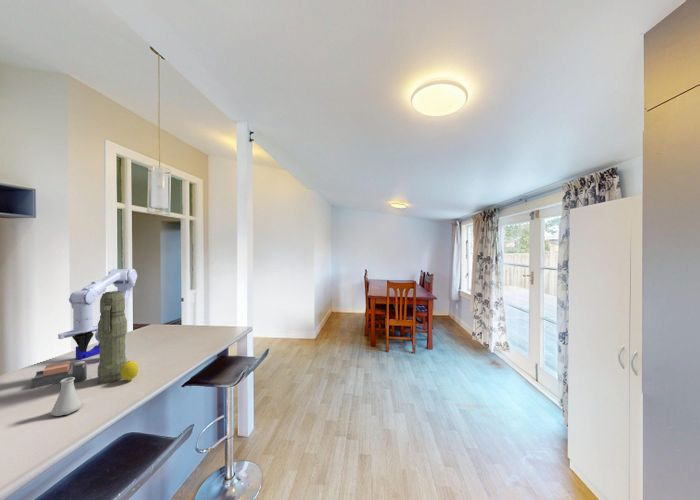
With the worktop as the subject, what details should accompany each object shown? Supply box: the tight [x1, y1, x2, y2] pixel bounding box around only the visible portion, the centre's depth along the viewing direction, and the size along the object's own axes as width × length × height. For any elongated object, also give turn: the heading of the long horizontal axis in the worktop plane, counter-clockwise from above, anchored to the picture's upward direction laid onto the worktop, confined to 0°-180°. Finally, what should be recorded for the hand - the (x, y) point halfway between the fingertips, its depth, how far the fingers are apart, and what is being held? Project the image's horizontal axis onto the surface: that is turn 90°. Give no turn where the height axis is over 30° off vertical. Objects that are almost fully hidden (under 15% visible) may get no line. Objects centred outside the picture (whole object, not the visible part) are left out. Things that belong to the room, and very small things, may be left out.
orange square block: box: [42, 360, 71, 376], centre depth 109 cm, size 6×6×2 cm
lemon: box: [120, 360, 139, 382], centre depth 107 cm, size 6×6×8 cm
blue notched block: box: [75, 343, 100, 361], centre depth 134 cm, size 12×4×6 cm, turn 169°
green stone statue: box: [97, 290, 128, 385], centre depth 109 cm, size 9×12×35 cm
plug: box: [71, 360, 88, 384], centre depth 108 cm, size 4×4×7 cm
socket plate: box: [30, 364, 72, 389], centre depth 109 cm, size 12×10×3 cm
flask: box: [49, 377, 85, 417], centre depth 88 cm, size 7×7×10 cm
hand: (83, 351), depth 114 cm, fingers closed
